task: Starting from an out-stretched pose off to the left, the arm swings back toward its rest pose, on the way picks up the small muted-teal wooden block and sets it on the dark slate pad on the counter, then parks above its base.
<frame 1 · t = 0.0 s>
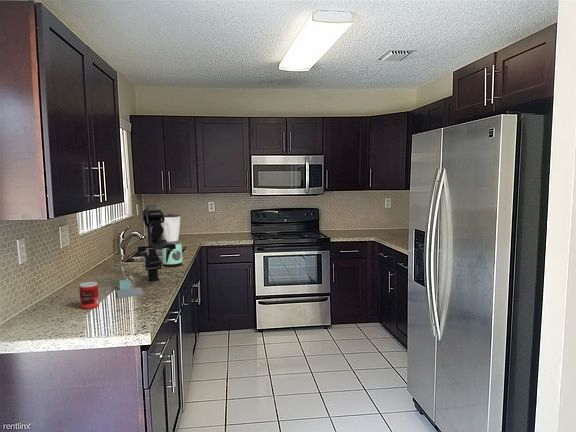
hand: (157, 263, 211), 15 cm above the worktop, tool pointing down, fingers open, 9 cm apart
juicer: (172, 265, 279), on the worktop
pad: (129, 293, 210), on the worktop
canned food: (90, 307, 189), on the worktop
block: (125, 289, 218), on the worktop
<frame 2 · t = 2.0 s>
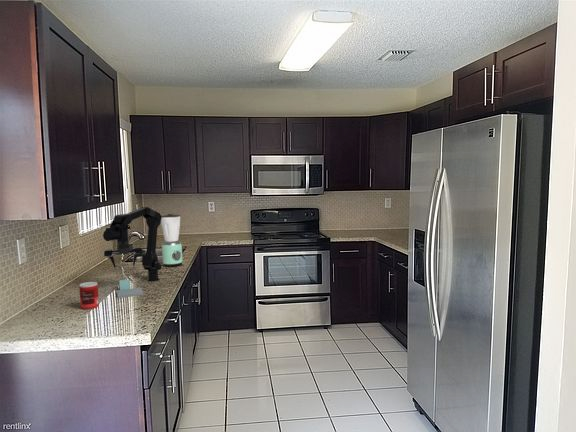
hand: (124, 267, 217), 12 cm above the worktop, tool pointing down, fingers open, 9 cm apart
nothing on the worktop moved.
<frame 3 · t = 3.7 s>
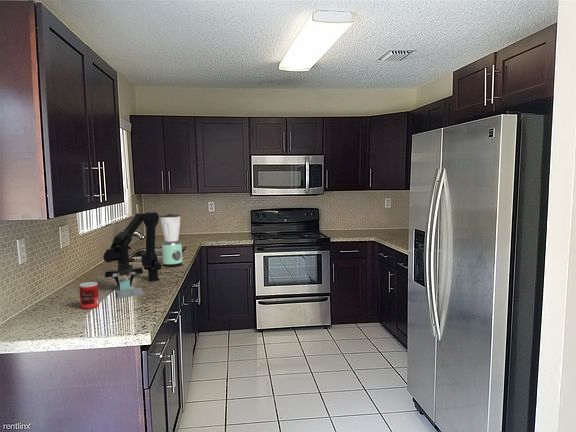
hand: (124, 287, 218), 1 cm above the worktop, tool pointing down, fingers closed on block, 5 cm apart
block: (125, 289, 218), on the worktop, touching gripper
everything else where it was.
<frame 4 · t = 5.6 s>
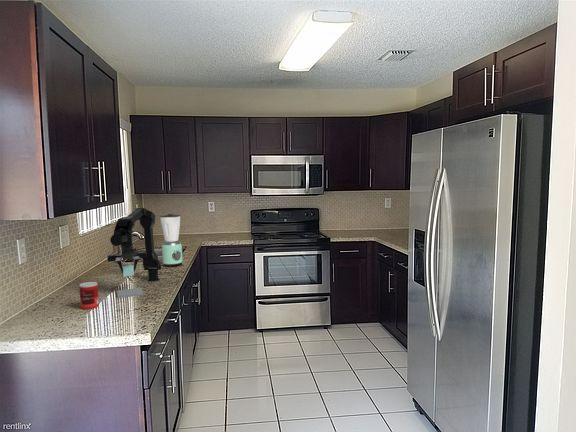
hand: (128, 272, 209), 11 cm above the worktop, tool pointing down, fingers closed on block, 5 cm apart
block: (128, 274, 209), point 10 cm above the worktop, touching gripper
everything else where it was.
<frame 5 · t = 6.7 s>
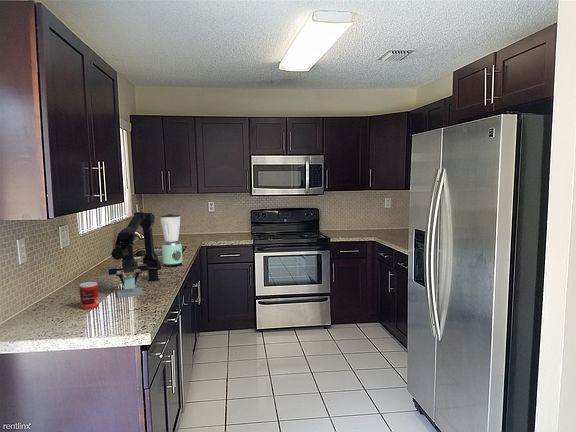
hand: (129, 285, 209), 4 cm above the worktop, tool pointing down, fingers closed on block, 5 cm apart
block: (129, 287, 209), point 3 cm above the worktop, touching gripper
everything else where it was.
when the fingers open (3 cm above the worktop, at t = 7.4 s): block stays where it is, resting on pad.
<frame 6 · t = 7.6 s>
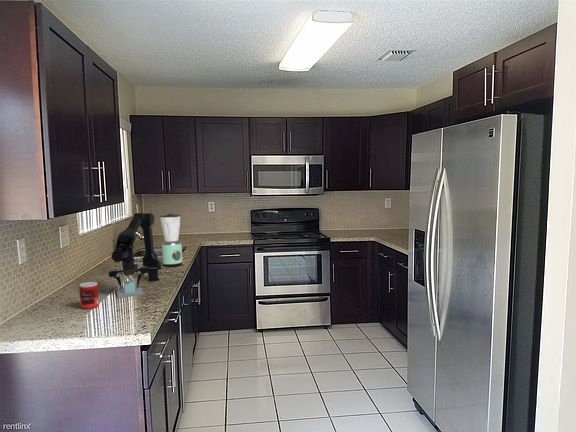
hand: (129, 287, 209), 3 cm above the worktop, tool pointing down, fingers open, 7 cm apart
block: (129, 291, 210), point 1 cm above the worktop, touching pad
everything else where it was.
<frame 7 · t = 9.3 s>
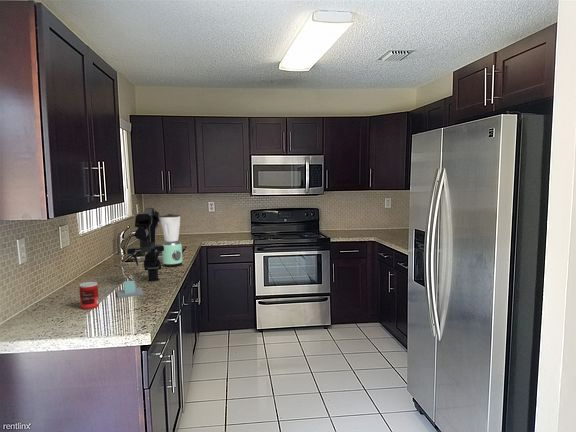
hand: (146, 264, 221), 12 cm above the worktop, tool pointing down, fingers open, 9 cm apart
nothing on the worktop moved.
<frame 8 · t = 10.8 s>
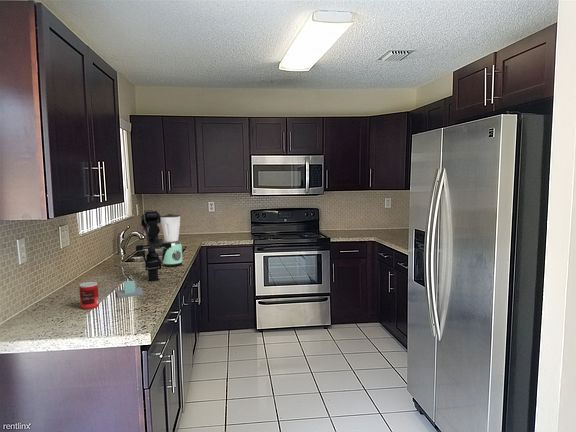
hand: (154, 261, 226), 13 cm above the worktop, tool pointing down, fingers open, 9 cm apart
nothing on the worktop moved.
at the end: block inside the target area on the pad (0.0 cm from its centre), point 1.0 cm above the pad's base; block tilted 0°; the gripper is holding nothing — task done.
